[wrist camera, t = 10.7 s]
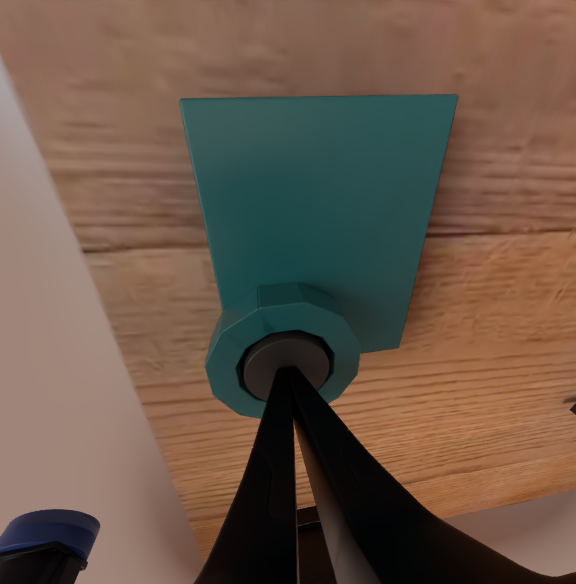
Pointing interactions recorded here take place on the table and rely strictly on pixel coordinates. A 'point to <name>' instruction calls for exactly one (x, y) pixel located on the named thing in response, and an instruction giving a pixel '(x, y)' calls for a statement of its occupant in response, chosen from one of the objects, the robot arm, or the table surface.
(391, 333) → the button box
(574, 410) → the toy
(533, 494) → the table surface
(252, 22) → the table surface
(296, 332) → the button
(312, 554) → the bracket
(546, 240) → the table surface
